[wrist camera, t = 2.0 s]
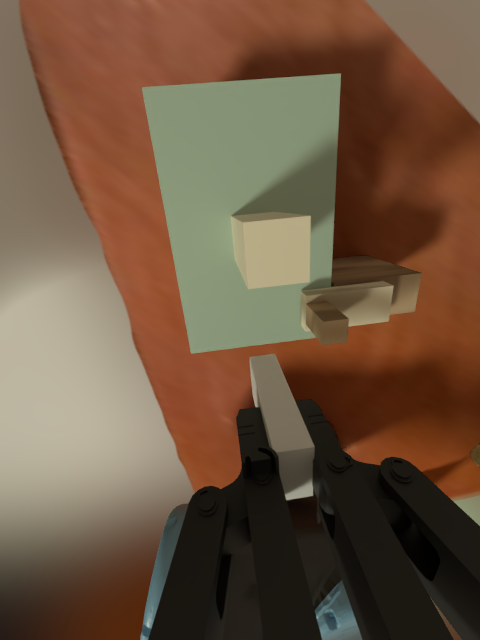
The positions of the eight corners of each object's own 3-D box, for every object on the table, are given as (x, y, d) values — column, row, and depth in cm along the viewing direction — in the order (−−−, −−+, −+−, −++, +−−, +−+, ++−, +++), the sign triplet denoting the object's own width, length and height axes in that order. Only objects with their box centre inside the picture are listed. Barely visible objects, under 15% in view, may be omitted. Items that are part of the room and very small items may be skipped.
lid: (320, 327, 30) (378, 391, 19) (192, 343, 29) (182, 419, 19) (328, 85, 21) (438, -25, 11) (148, 98, 20) (87, -7, 10)
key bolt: (378, 315, 27) (418, 340, 22) (300, 324, 27) (322, 353, 21) (383, 280, 26) (426, 300, 21) (300, 290, 25) (323, 312, 20)
